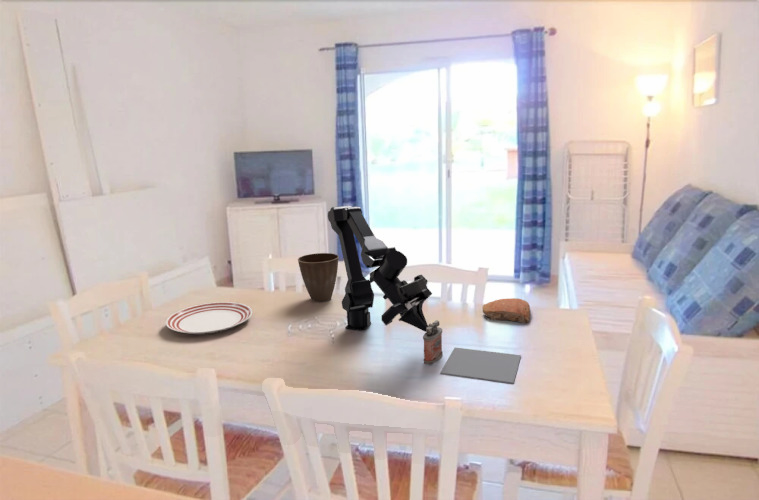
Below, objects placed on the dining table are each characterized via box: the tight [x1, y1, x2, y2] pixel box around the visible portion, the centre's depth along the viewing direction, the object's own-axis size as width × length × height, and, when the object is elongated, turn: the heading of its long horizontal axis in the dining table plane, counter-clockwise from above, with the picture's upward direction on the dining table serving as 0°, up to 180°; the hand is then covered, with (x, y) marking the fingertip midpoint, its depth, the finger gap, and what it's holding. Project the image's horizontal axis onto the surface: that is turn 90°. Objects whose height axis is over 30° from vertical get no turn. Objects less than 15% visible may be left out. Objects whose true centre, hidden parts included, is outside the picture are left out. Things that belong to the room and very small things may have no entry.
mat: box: [439, 347, 522, 385], centre depth 132 cm, size 18×16×1 cm
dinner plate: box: [165, 301, 253, 335], centre depth 169 cm, size 28×27×3 cm
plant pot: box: [297, 252, 340, 303], centre depth 189 cm, size 15×15×16 cm
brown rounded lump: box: [481, 297, 531, 324], centre depth 167 cm, size 15×6×15 cm
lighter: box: [422, 319, 443, 366], centre depth 136 cm, size 8×3×10 cm, turn 148°
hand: (427, 330), depth 136 cm, fingers closed
